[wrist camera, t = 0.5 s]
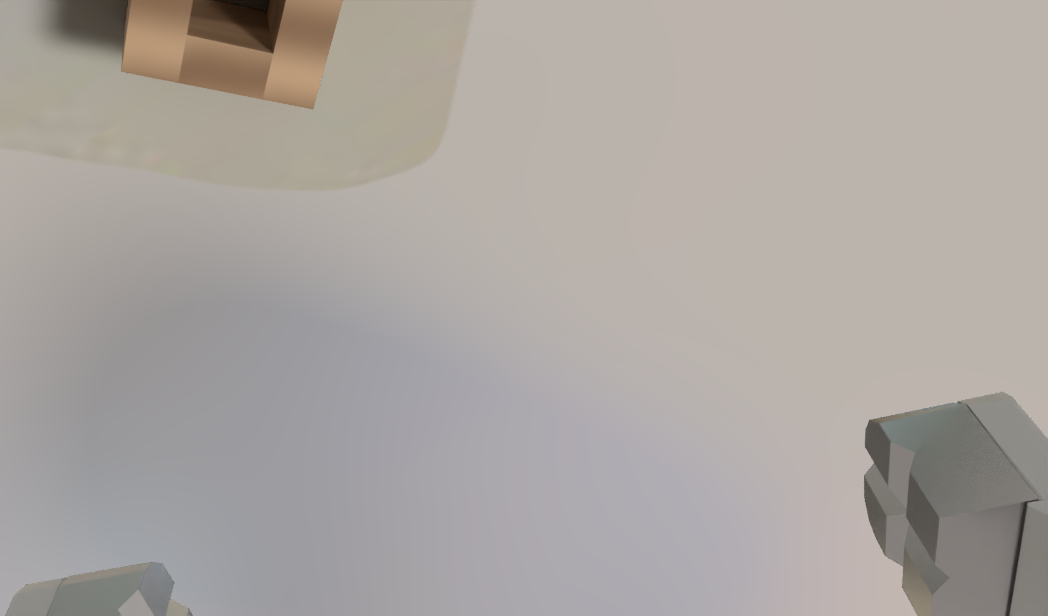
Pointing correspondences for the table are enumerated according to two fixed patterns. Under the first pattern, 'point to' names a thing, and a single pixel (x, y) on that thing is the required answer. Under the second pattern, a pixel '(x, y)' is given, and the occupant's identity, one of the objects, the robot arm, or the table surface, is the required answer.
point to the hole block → (233, 46)
